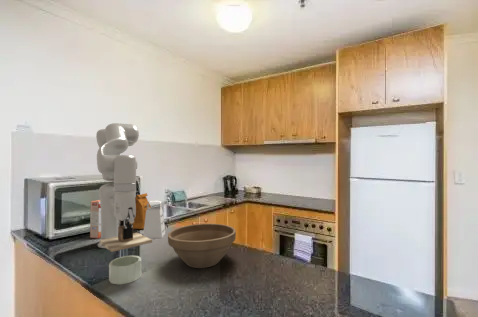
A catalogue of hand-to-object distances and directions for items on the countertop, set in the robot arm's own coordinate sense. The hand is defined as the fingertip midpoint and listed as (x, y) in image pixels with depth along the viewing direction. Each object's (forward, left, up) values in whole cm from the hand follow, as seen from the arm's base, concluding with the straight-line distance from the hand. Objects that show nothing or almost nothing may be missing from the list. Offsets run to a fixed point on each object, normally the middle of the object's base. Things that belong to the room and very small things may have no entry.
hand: (125, 236), depth 94 cm
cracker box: (-66, +10, -15) cm, 69 cm away
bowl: (0, 0, -15) cm, 15 cm away
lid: (0, 0, -2) cm, 2 cm away
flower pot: (+8, +29, -15) cm, 34 cm away
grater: (-43, +31, -15) cm, 55 cm away
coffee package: (-66, +33, -15) cm, 76 cm away
